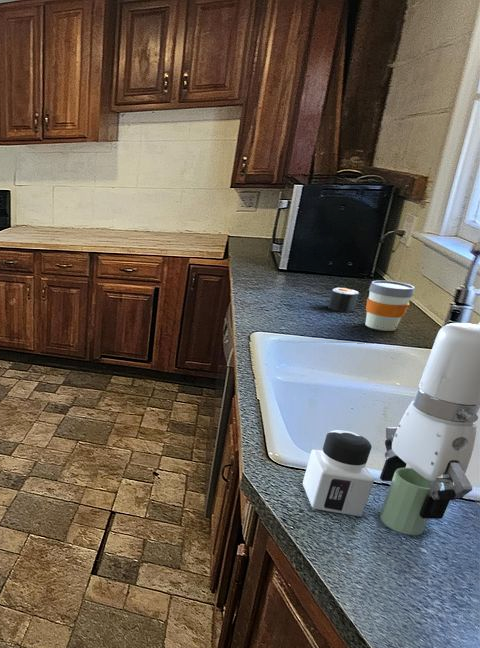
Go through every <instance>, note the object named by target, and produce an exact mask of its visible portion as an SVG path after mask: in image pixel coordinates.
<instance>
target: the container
mask: <svg viewBox="0 0 480 648" xmlns="http://www.w3.org/2000/svg"><path fill="white" fill-rule="evenodd" d="M371 451H372V444H371V442H370V441H369V440H368V439H367V438H366V437H364V436H362V435H360V434H359V433H356V432H353V431H350V430H341V429H336V430H331V431H329V432H328V433H327V434H326V435H325V440H324V442H323V446H322V450H321V449H312V450H311V451H310V454H309V458H308V462H307V466H306V469H305V473H304V477H303V480H302V487H303V488H304V491H305V494H306V496H307V499H308V501H309V504H310V506H311V508H312V509H313V510H319V511H325V512H329V513H335V514H343V515H349V516H354V517H359V518H360V517H363V515H364V512H365V508H366V505H367V503H368V500H369V497H370V494H371V492H372V488H373V485H374V483H375V479H374V477H373V476H372V474H371V473H370V471H369V469H368V468H367V466H366V465H367V463H368V460H369V456H370V453H371Z"/></svg>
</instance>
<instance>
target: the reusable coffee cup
mask: <svg viewBox="0 0 480 648" xmlns="http://www.w3.org/2000/svg"><path fill="white" fill-rule="evenodd" d="M415 288H416V287H415V286H414V285H412V284H409V283H405V282H401V281H400V282H399V281H394V280H393V281H392V280H373V281H371V283H370V286H369V288H368V291H369V293H368V297H367V298H366V305H365V312H366V316H365V323H364V325H365V326H366V327H368V328H370V329H374V330H378V331H384V332H385V331H387V332H388V331H389V332H392V331H395V330H397V327H398V326H399V323H400V322H401V319H402V318H403V317H404V316H405V315H406V313H407V310H408V308H409V307H410V301H411V299H412V297H414V293H415ZM377 326H378V327H377ZM383 327H384V328H383ZM395 327H396V328H395Z"/></svg>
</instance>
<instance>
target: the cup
mask: <svg viewBox="0 0 480 648" xmlns="http://www.w3.org/2000/svg"><path fill="white" fill-rule="evenodd" d="M442 486H443V485H442V483H439V488H440V490H441V488H442ZM427 495H431V491H430V486H429V481H428V480H426V479H425V478H423V477H422V476H421V475H420V474H418V473H417V472H416V471H415V470H414V469H412V468H411V467H405V468H398V469H396V471H395V473H394V476H393V479H392V481H390V484H389V488H388V490H387V493H386V496H385V499H384V502H383V505H382V507H381V510H380V514H379V518H380V521H381V522H382V523H383V524H384V525H385V526H387V527H388V528H389V529H392V530H393V531H395V532H398V533H400V534H403V535H407V536H419V535H422V534H424V532H425V531H424V530H425V529H426V526H427V524H428V522H429V519H427V518H422V517H421V516H420V515H419V513H420V511H421V508H422V506H423V503H424V501H425V498H426V496H427Z"/></svg>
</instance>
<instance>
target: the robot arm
mask: <svg viewBox="0 0 480 648" xmlns="http://www.w3.org/2000/svg"><path fill="white" fill-rule="evenodd" d="M479 409H480V321H479V322H478V323H477V324H474V323H466V322H452V323H448V324H445V325H443V326H442V327H441V328H440V329H439V330H438V332H437V335H436V336H435V339H434V342H433V346H432V348H431V350H430V353H429V355H428V358H427V362H426V365H425V367H424V370H423V373H422V376H421V378H420V381H419V384H418V387H417V389H416V392H415V395H414V398H413V399H412V401H411V402H410V404H409V405H408V407H407V408H406V409H405V412H404V413H403V414H402V415H403V416H402V418H401V420H400V422H399V423H398V426H397V427H395V426H394V427H392V426H391V427H389V426H387V427H386V428H385V441H384V445H385V446H384V447H385V449H386V451H385V452H384V458H385V460H384V461H385V462H384V464H383V466H382V469H381V473H380V475H379V479H380V480H381V481H382V482H392V479H393V476H394V473H395V471H396V469H398V468H407V466H408V467H409V468H412V469H414V470H415V471H416V472H417V473H418V474H420V475H421V476H422V477H423V478H425V479H426V480H428V481H429V486H430V491H431V495H427V496H426V498H425V501H424V503H423V506H422V508H421V511H420V513H419V515H420V516H421V517H422V518H427V519H428V520H432V519H434V520H441V519H443V517H444V515H445V513H446V510H447V508H448V506H449V504H450V501H455V500H459V499H463V498H464V496H466V495H467V494H469V493H470V492H472V491H473V485H472V484H471V482H470V481H469V478H468V477H467V475H466V472H467V470H468V467H469V465H470V462H471V458H472V455H473V450H474V447H475V442H476V437H477V425H476V424H475V423H476V422H477V421H478V419H479V416H478V415H477V414H478V412H479ZM439 483H441V484H442V483H443V488H444V489H443V490H441V489H440V488H439Z"/></svg>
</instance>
